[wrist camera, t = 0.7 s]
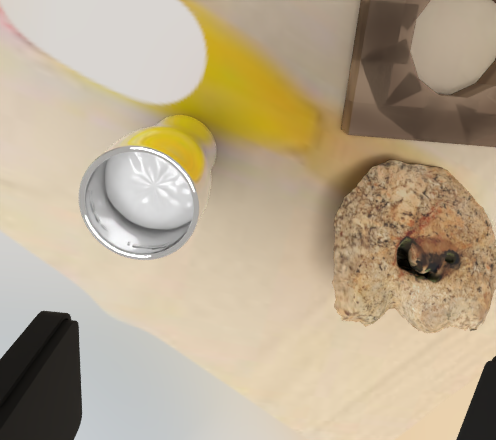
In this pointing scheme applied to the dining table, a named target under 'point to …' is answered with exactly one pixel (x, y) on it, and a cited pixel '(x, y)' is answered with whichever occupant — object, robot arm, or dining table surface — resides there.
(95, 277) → the dining table surface
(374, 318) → the holed granite stone
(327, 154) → the dining table surface
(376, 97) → the can holder
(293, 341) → the dining table surface
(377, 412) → the dining table surface
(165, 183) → the beer glass
